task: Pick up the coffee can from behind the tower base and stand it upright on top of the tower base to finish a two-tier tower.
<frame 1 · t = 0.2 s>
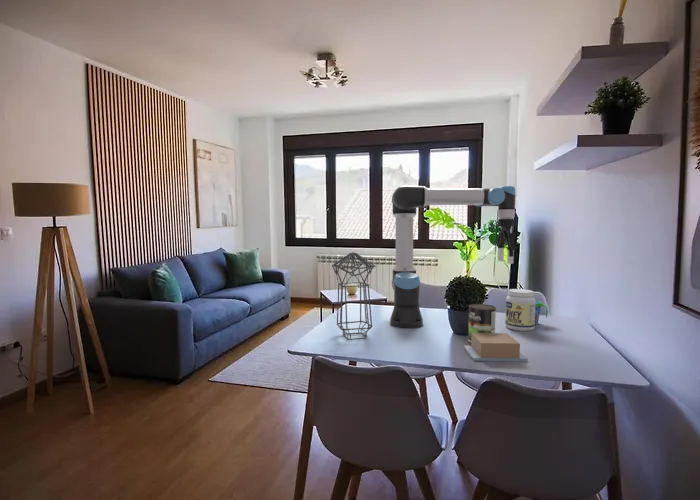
hand: (505, 262, 197), 28 cm above the table, tool pointing down, fingers open, 13 cm apart
supplement tub: (519, 328, 181), on the table
coffee can: (481, 342, 160), on the table
snack cup: (529, 323, 190), on the table
tower base: (494, 354, 144), on the table
geometric lantern: (353, 336, 168), on the table
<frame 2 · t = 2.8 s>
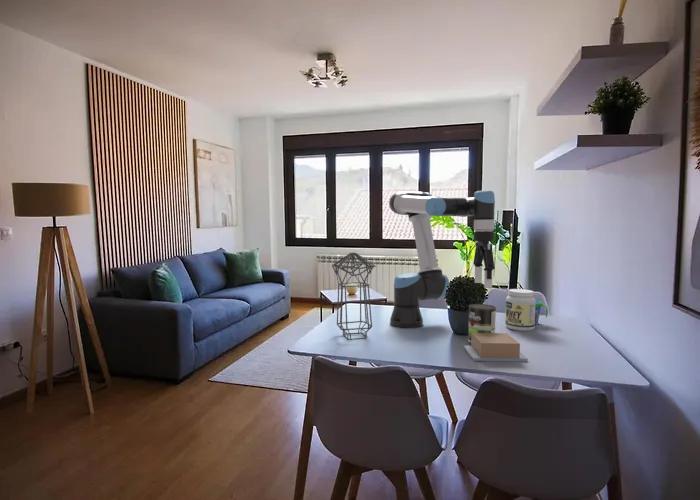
hand: (483, 285, 158), 22 cm above the table, tool pointing down, fingers open, 13 cm apart
nothing on the table moved.
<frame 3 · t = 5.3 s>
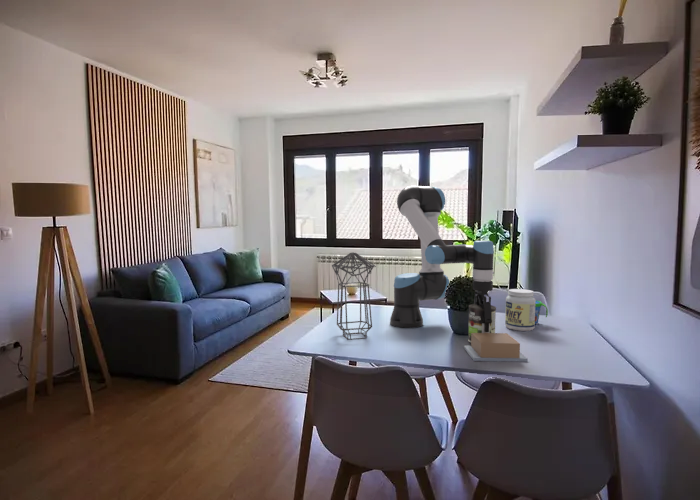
hand: (481, 335, 160), 2 cm above the table, tool pointing down, fingers closed on coffee can, 10 cm apart
coffee can: (481, 342, 160), on the table, touching gripper
everything else where it was.
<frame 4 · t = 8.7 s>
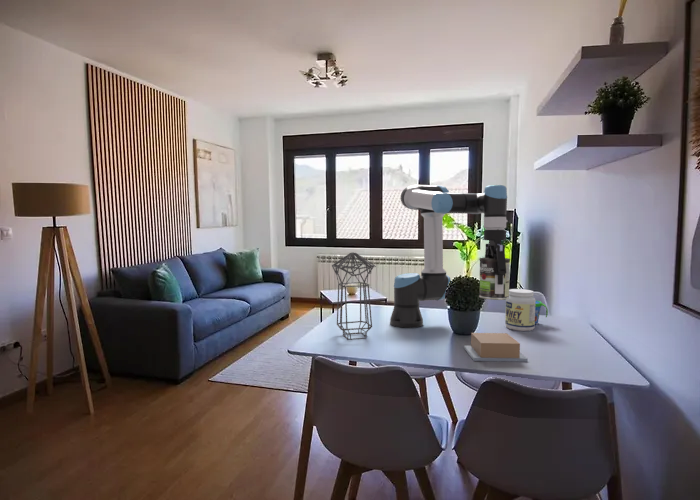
hand: (494, 291, 145), 22 cm above the table, tool pointing down, fingers closed on coffee can, 10 cm apart
coffee can: (494, 298, 145), point 20 cm above the table, touching gripper
everything else where it was.
when the fingers open (10 cm above the table, at t = 12.1 s): coffee can drops 1 cm, resting on tower base.
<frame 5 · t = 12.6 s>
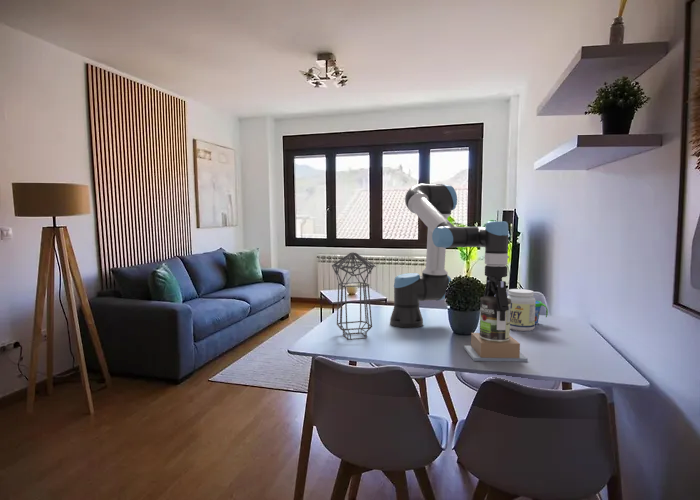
hand: (494, 324, 143), 11 cm above the table, tool pointing down, fingers open, 13 cm apart
coffee can: (494, 338, 143), point 6 cm above the table, touching tower base
everything else where it was.
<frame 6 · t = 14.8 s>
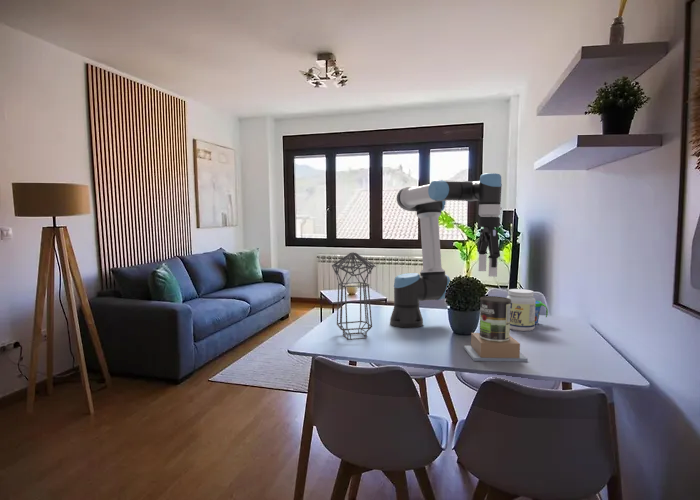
hand: (487, 273, 150), 28 cm above the table, tool pointing down, fingers open, 13 cm apart
nothing on the table moved.
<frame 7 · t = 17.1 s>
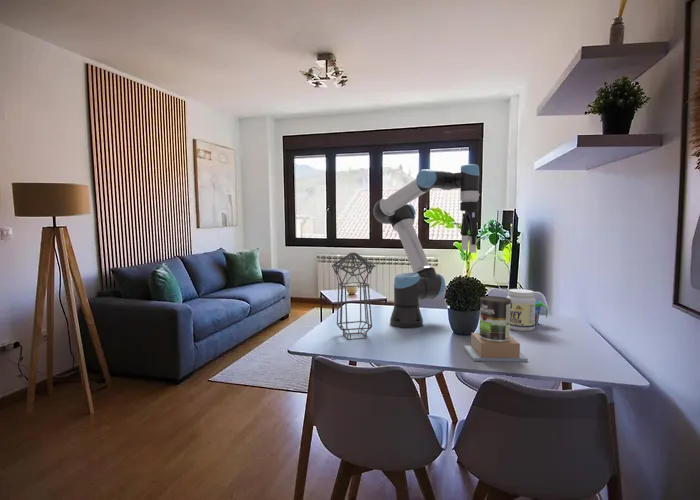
hand: (468, 251, 173), 35 cm above the table, tool pointing down, fingers open, 13 cm apart
nothing on the table moved.
at the end: coffee can inside the target area on the tower base (0.0 cm from its centre), point 5.8 cm above the tower base's base; coffee can tilted 0°; the gripper is holding nothing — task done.
